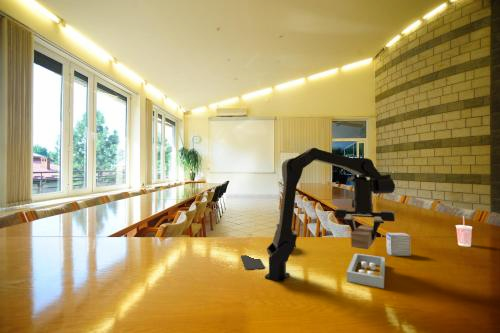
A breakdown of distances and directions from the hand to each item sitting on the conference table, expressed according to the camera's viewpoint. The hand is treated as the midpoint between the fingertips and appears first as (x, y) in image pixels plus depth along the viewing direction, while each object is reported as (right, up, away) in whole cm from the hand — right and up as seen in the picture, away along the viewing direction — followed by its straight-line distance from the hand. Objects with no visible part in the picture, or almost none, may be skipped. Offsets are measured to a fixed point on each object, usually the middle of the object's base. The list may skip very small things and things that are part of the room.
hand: (364, 239), depth 87 cm
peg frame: (+1, -11, -1) cm, 11 cm away
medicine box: (+23, -12, +19) cm, 32 cm away
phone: (-39, -13, +10) cm, 42 cm away
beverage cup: (+63, -12, +32) cm, 71 cm away
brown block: (0, -1, 0) cm, 1 cm away
